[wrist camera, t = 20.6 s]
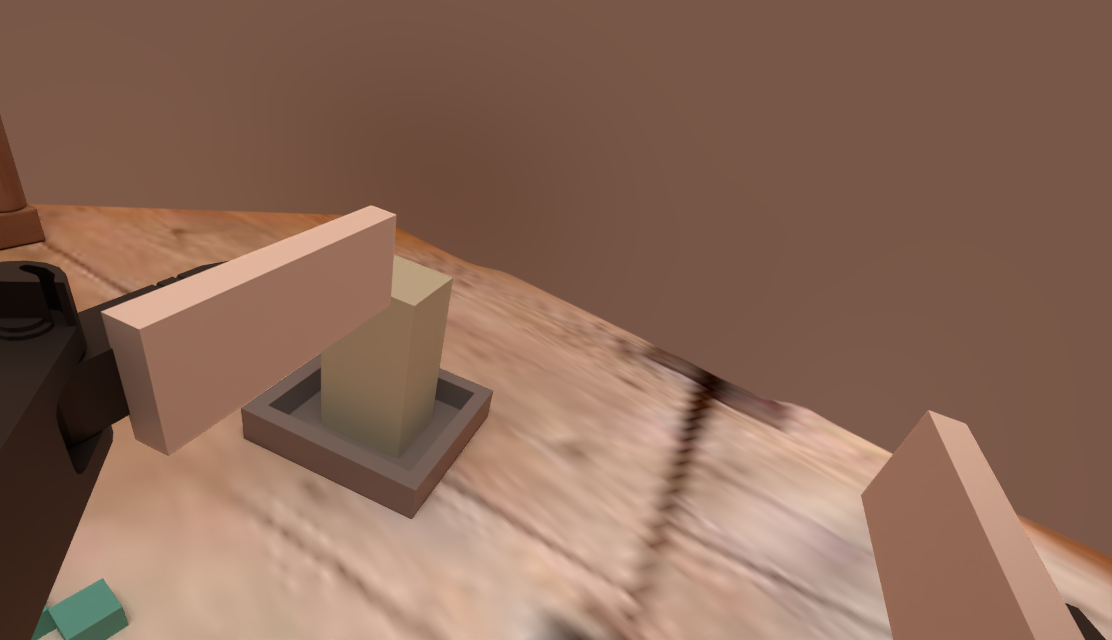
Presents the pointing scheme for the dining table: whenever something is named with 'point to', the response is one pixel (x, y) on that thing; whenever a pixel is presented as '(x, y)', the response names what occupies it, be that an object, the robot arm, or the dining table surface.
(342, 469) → the grey tray
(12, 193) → the wooden braced frame
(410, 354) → the tan rectangular block
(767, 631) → the dining table surface
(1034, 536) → the dining table surface
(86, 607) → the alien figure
